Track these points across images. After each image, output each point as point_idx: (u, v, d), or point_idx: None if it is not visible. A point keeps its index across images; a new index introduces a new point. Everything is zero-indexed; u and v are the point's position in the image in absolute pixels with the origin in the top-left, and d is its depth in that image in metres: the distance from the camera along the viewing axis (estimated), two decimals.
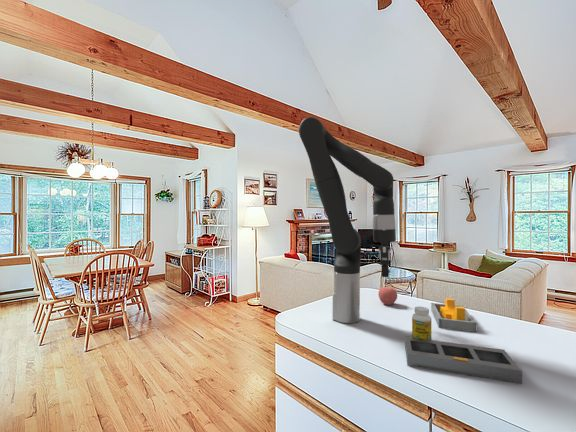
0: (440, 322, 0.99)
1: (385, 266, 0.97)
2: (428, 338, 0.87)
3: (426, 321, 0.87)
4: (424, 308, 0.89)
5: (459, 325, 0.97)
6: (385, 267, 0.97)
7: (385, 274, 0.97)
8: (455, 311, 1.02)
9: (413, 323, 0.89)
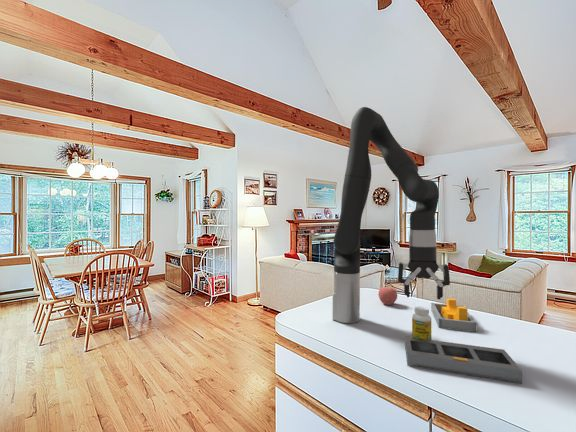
0: (440, 322, 0.99)
1: (442, 286, 0.88)
2: (428, 338, 0.87)
3: (426, 321, 0.87)
4: (424, 308, 0.89)
5: (459, 325, 0.97)
6: None
7: None
8: (457, 311, 1.01)
9: (413, 323, 0.89)
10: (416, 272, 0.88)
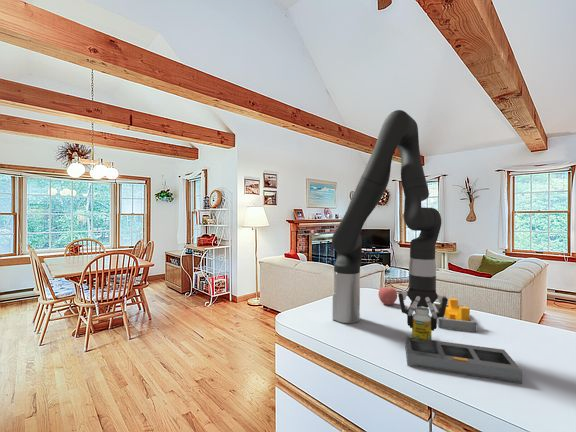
0: (440, 322, 0.99)
1: (436, 317, 0.88)
2: (428, 338, 0.87)
3: (426, 321, 0.87)
4: (424, 308, 0.89)
5: (459, 325, 0.97)
6: None
7: None
8: (459, 311, 1.01)
9: (413, 323, 0.89)
10: (416, 301, 0.88)
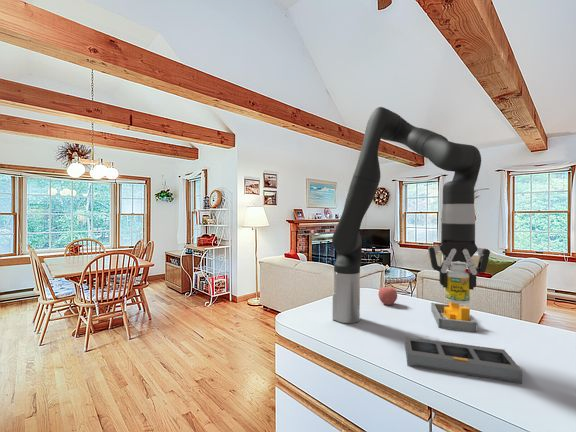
0: (440, 322, 0.99)
1: None
2: (466, 298, 0.73)
3: (464, 278, 0.73)
4: (460, 263, 0.75)
5: (459, 325, 0.97)
6: None
7: None
8: (459, 311, 1.01)
9: (447, 281, 0.75)
10: (451, 255, 0.74)
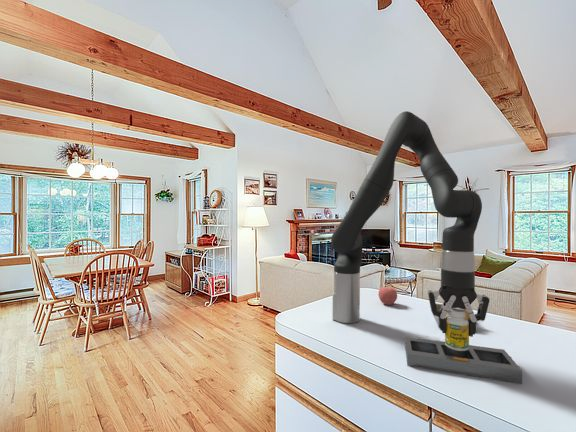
0: None
1: None
2: (466, 345, 0.73)
3: (463, 325, 0.73)
4: (460, 309, 0.75)
5: None
6: None
7: None
8: None
9: (447, 327, 0.75)
10: (451, 302, 0.74)
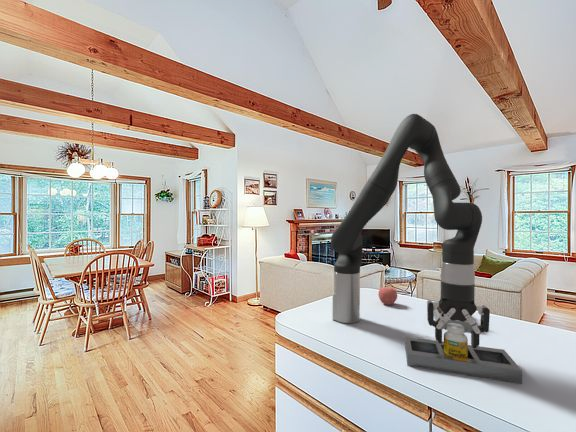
0: None
1: None
2: None
3: (462, 342, 0.73)
4: (458, 325, 0.75)
5: None
6: None
7: None
8: None
9: (445, 343, 0.75)
10: (450, 314, 0.74)
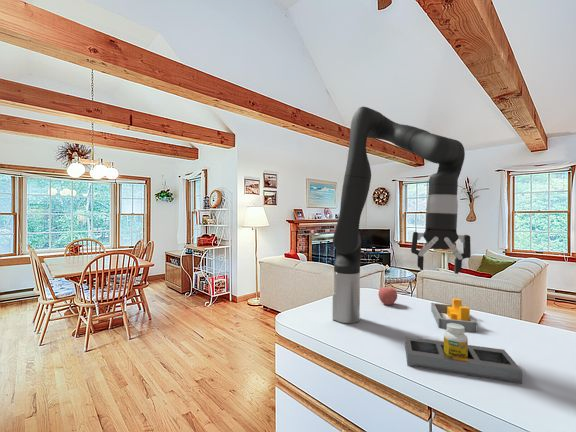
0: (440, 322, 0.99)
1: (461, 259, 0.78)
2: None
3: (462, 342, 0.73)
4: (458, 325, 0.75)
5: None
6: None
7: None
8: (460, 311, 1.02)
9: (445, 343, 0.75)
10: (432, 242, 0.79)
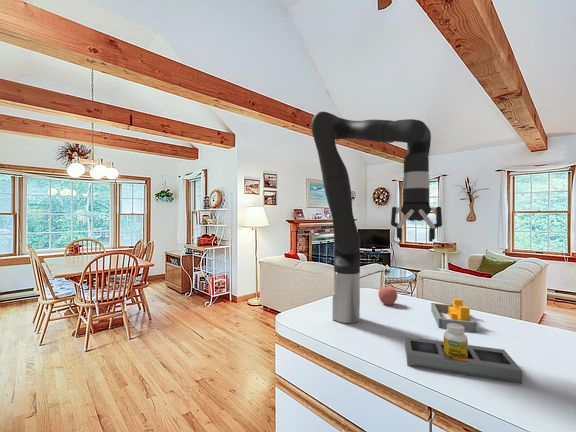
0: (440, 322, 0.99)
1: (434, 229, 0.88)
2: None
3: (462, 342, 0.73)
4: (458, 325, 0.76)
5: None
6: None
7: None
8: (460, 311, 1.02)
9: (445, 343, 0.75)
10: (409, 214, 0.89)
